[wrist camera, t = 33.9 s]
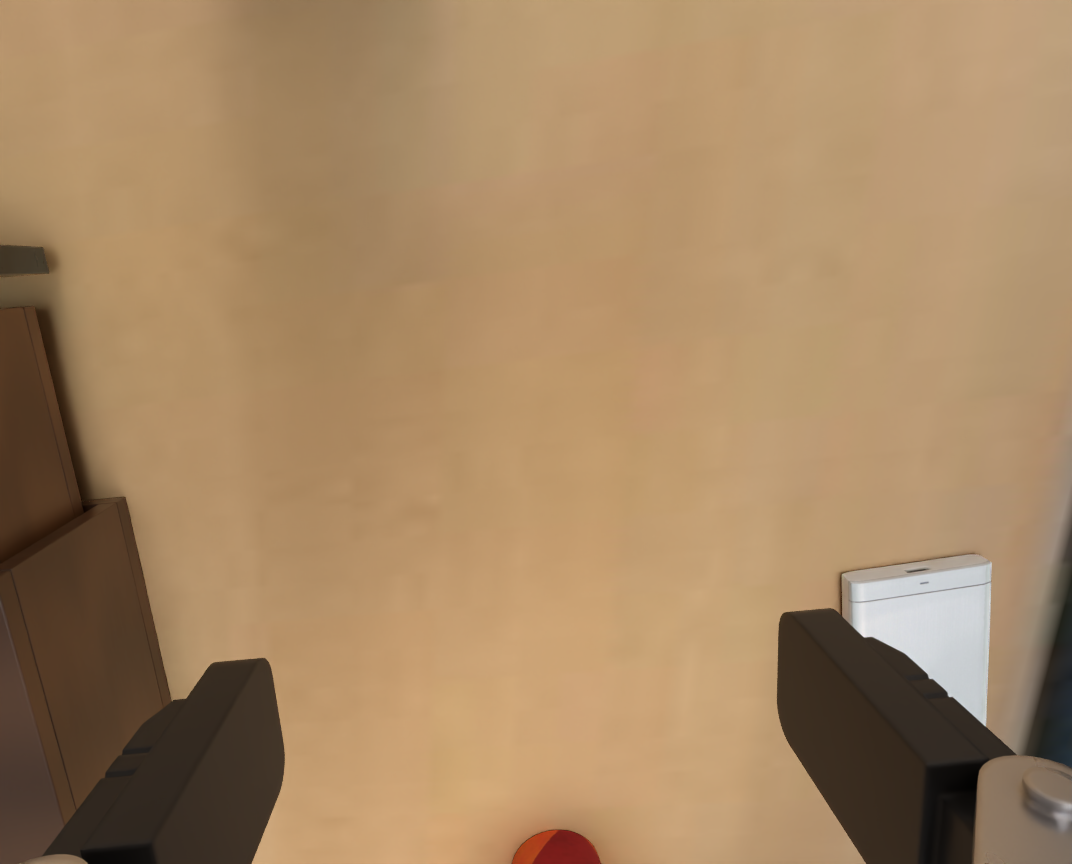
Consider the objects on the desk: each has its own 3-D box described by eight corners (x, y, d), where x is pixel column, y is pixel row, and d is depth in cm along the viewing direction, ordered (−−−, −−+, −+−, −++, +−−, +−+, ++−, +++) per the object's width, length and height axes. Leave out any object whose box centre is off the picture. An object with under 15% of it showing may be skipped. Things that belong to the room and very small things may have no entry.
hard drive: (988, 754, 41) (996, 564, 38) (855, 775, 41) (853, 585, 38) (969, 735, 43) (976, 552, 40) (841, 756, 43) (838, 572, 40)
